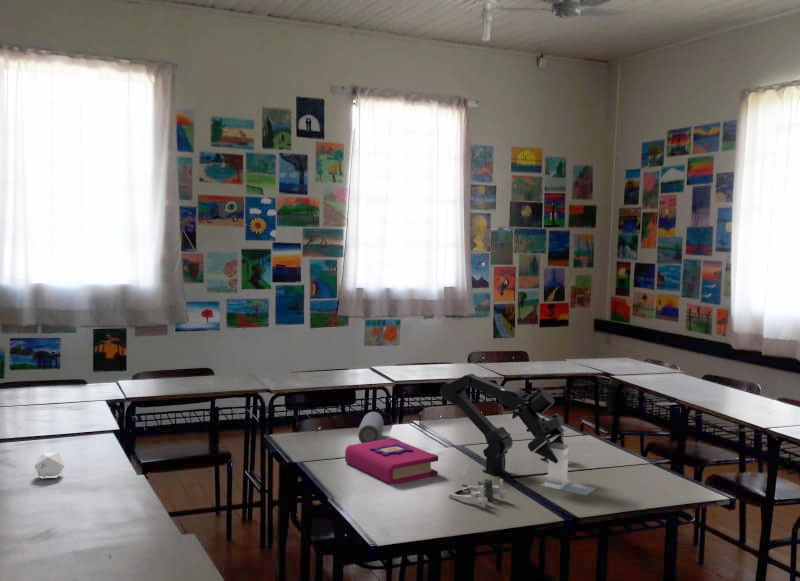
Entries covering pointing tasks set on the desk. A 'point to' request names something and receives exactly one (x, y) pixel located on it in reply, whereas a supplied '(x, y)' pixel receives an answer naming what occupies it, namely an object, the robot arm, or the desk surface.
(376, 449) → the book
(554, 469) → the relay module
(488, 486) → the bike brake
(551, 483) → the din rail board
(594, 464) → the desk surface
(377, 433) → the bluetooth speaker
